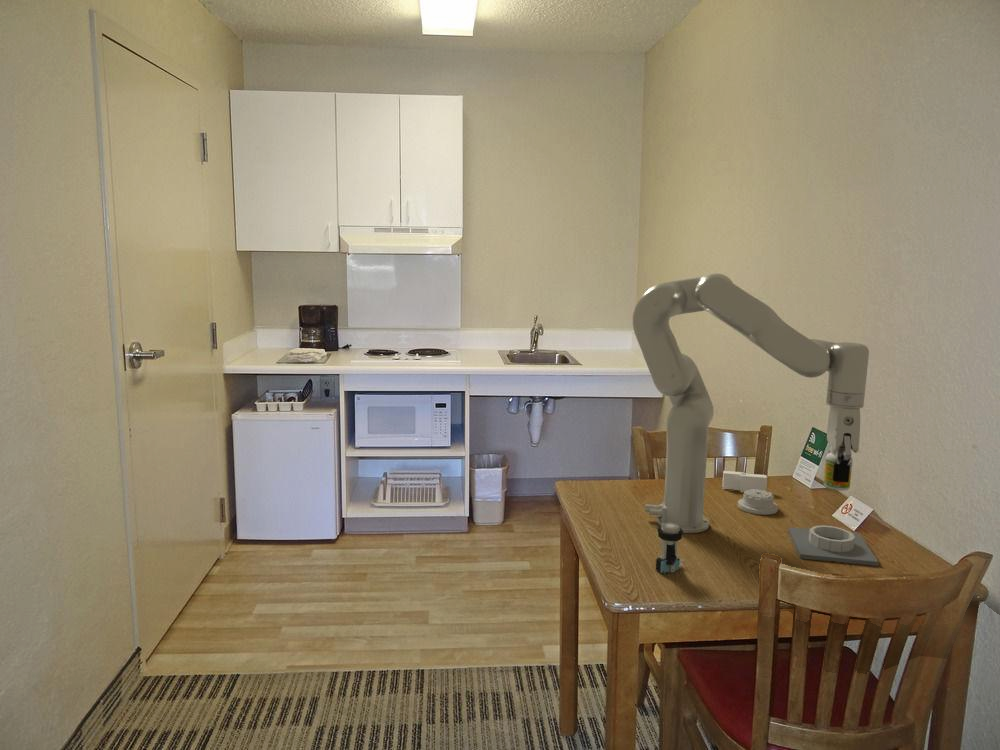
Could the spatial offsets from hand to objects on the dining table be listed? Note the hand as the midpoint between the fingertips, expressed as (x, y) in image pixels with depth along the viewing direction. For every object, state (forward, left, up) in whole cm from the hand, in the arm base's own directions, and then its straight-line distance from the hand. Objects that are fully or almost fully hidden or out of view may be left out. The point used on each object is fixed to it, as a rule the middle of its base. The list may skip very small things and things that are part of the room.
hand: (837, 476), depth 163 cm
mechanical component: (-13, +23, -18) cm, 32 cm away
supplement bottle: (0, 0, -3) cm, 3 cm away
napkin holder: (-16, +37, -18) cm, 44 cm away
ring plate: (0, 0, -17) cm, 17 cm away
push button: (-36, -21, -17) cm, 45 cm away
